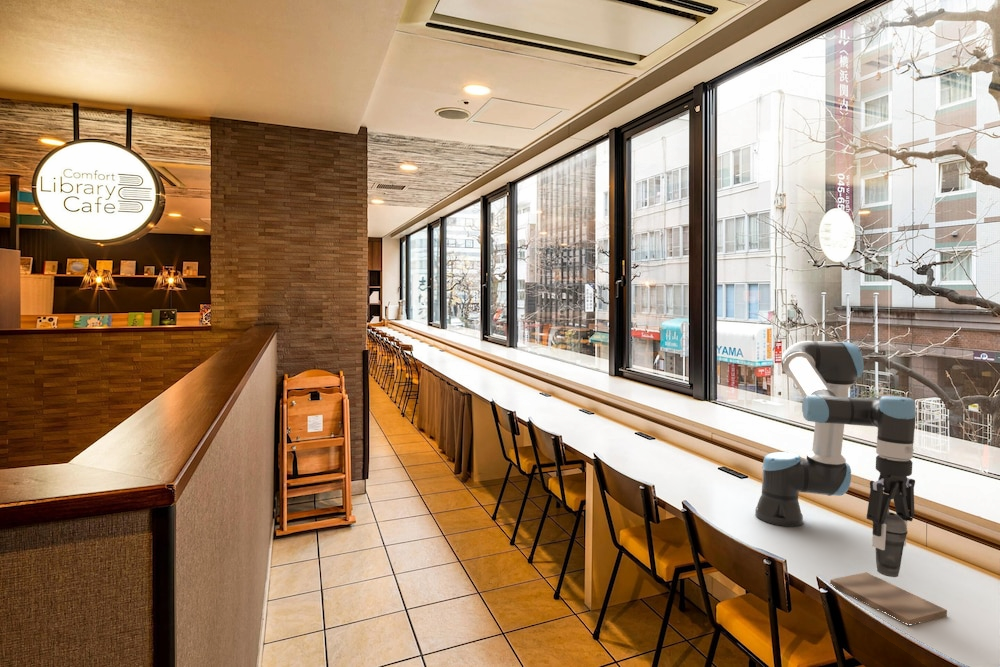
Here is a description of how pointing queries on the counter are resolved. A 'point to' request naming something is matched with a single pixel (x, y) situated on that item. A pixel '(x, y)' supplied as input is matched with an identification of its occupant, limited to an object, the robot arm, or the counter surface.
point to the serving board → (889, 598)
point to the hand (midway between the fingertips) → (888, 545)
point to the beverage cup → (892, 546)
